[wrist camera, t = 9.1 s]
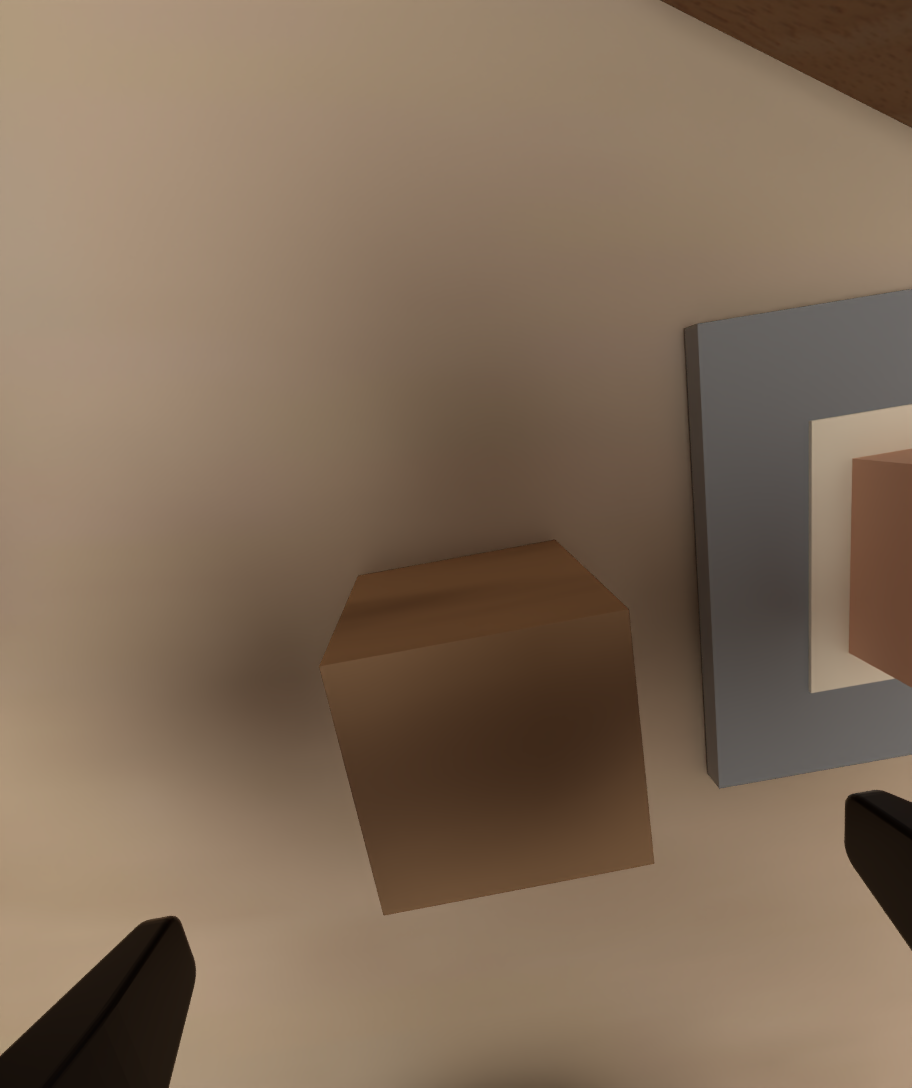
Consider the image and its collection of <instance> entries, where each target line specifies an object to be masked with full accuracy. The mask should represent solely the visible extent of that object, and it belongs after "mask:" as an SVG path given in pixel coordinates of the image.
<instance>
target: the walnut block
mask: <svg viewBox="0 0 912 1088" xmlns="http://www.w3.org/2000/svg"><path fill="white" fill-rule="evenodd" d="M319 668H320V672H321V676H322V680H323V684H324V688H325V692H326V695H327V699H328V703H329V707H330V711H331V715H332V719H333V722H334V726H335V730H336V734H337V738H338V742H339V746H340V749H341V753H342V757H343V761H344V765H345V769H346V772H347V776H348V780H349V784H350V788H351V792H352V796H353V799H354V803H355V807H356V811H357V815H358V819H359V823H360V826H361V830H362V834H363V838H364V842H365V846H366V850H367V853H368V857H369V861H370V865H371V869H372V873H373V876H374V880H375V884H376V888H377V892H378V896H379V900H380V903H381V907H382V911H383V915H389V914H394V913H399V912H405V911H410V910H415V909H420V908H425V907H431V906H436V905H441V904H446V903H452V902H457V901H462V900H467V899H472V898H478V897H483V896H488V895H493V894H499V893H504V892H509V891H514V890H519V889H525V888H530V887H535V886H540V885H546V884H551V883H556V882H561V881H566V880H572V879H577V878H582V877H587V876H593V875H598V874H603V873H608V872H613V871H619V870H624V869H629V868H634V867H640V866H645V865H650V864H654V855H653V845H652V835H651V825H650V815H649V805H648V795H647V785H646V775H645V766H644V756H643V746H642V736H641V726H640V716H639V706H638V696H637V686H636V676H635V666H634V656H633V646H632V636H631V626H630V616H629V609H628V608H627V607H626V606H625V605H624V604H623V603H622V602H621V601H620V600H619V599H617V598H616V597H615V596H614V595H613V594H612V593H611V592H610V591H609V590H608V589H607V588H606V587H605V586H604V585H603V584H602V583H600V582H599V581H598V580H597V579H596V578H595V577H594V576H593V575H592V574H591V573H590V572H589V571H588V570H587V569H586V568H585V567H584V566H582V565H581V564H580V563H579V562H578V561H577V560H576V559H575V558H574V557H573V556H572V555H571V554H570V553H569V552H568V551H567V550H565V549H564V548H563V547H562V546H561V545H560V544H559V543H558V542H557V541H556V540H551V541H545V542H540V543H534V544H529V545H523V546H518V547H512V548H507V549H502V550H496V551H491V552H485V553H480V554H474V555H469V556H463V557H458V558H452V559H447V560H441V561H436V562H430V563H425V564H419V565H414V566H408V567H403V568H398V569H392V570H387V571H381V572H376V573H370V574H365V575H359V576H358V577H357V580H356V582H355V584H354V587H353V589H352V591H351V594H350V596H349V598H348V600H347V603H346V605H345V607H344V610H343V612H342V614H341V617H340V619H339V621H338V624H337V626H336V628H335V631H334V633H333V635H332V638H331V640H330V642H329V645H328V647H327V649H326V651H325V654H324V656H323V658H322V661H321V663H320V665H319Z"/></svg>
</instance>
